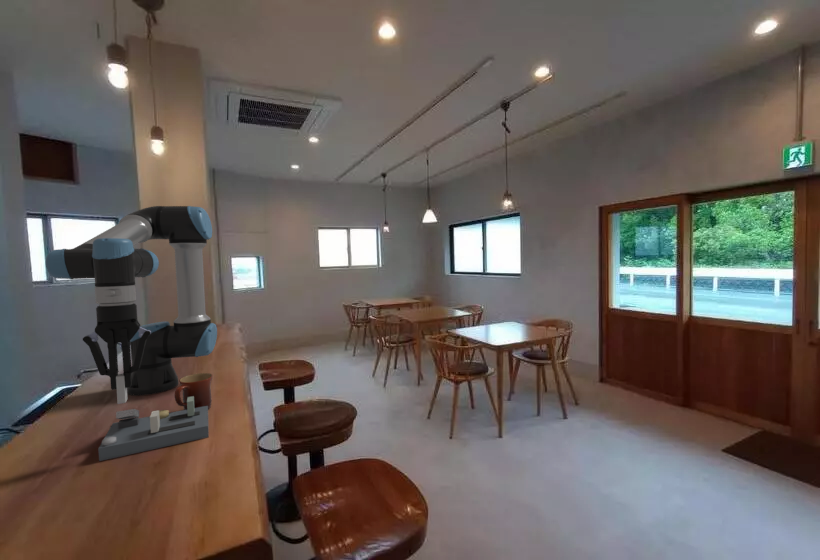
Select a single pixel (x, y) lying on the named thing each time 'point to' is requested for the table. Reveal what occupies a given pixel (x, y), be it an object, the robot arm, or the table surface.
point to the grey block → (190, 406)
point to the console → (139, 438)
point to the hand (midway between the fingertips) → (122, 401)
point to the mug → (195, 390)
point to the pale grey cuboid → (154, 421)
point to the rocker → (127, 414)
